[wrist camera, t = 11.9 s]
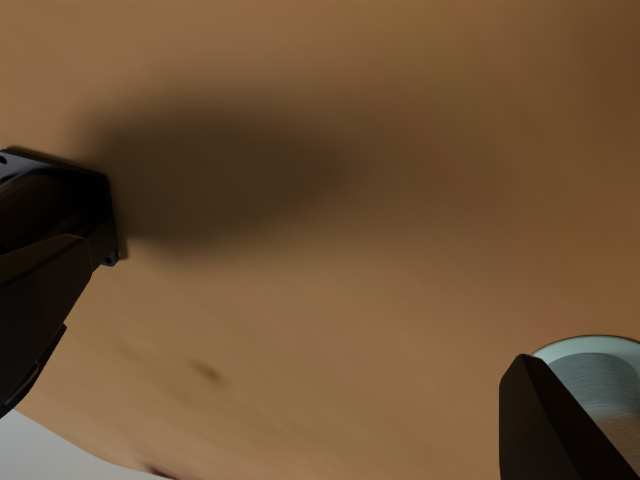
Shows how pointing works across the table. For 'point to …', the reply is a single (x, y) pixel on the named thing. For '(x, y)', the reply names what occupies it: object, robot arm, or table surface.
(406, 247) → the table surface
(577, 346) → the pale green disc
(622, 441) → the canister
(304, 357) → the table surface
